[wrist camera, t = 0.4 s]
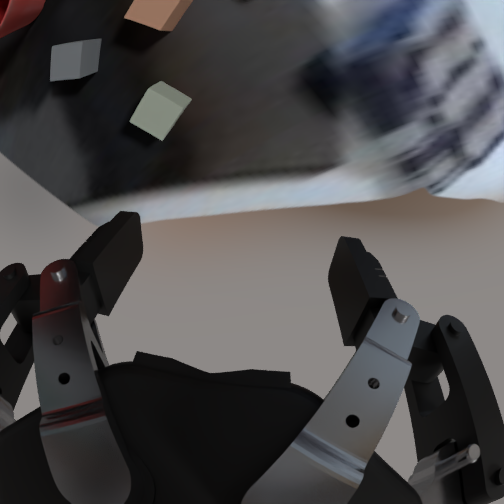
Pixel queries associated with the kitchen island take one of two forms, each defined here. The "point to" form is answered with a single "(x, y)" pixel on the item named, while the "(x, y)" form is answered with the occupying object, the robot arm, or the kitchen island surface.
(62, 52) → the slate cube
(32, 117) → the kitchen island surface
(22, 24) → the flower pot
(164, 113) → the sage cube
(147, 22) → the terracotta cube
